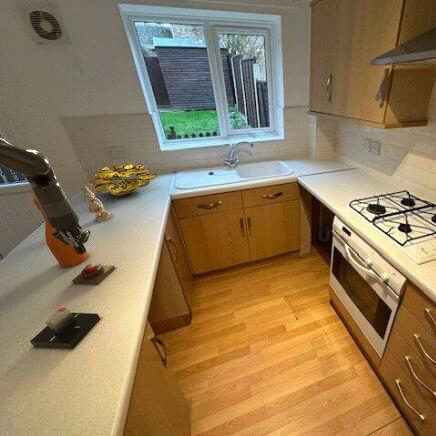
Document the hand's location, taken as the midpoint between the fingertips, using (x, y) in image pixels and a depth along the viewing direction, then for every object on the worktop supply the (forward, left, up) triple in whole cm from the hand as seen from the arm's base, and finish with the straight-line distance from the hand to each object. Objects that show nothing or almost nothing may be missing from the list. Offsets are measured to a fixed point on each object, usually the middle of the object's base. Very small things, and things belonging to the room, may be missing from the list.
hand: (82, 253), depth 88 cm
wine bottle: (-17, +9, -12) cm, 22 cm away
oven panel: (+12, -24, -12) cm, 29 cm away
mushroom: (-48, +87, -12) cm, 100 cm away
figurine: (-34, +46, -12) cm, 58 cm away
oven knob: (+12, -24, -8) cm, 28 cm away
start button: (0, 0, -8) cm, 8 cm away
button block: (0, 0, -12) cm, 12 cm away
